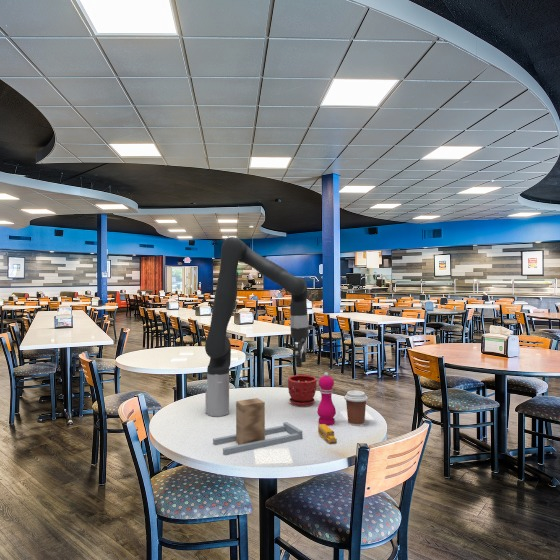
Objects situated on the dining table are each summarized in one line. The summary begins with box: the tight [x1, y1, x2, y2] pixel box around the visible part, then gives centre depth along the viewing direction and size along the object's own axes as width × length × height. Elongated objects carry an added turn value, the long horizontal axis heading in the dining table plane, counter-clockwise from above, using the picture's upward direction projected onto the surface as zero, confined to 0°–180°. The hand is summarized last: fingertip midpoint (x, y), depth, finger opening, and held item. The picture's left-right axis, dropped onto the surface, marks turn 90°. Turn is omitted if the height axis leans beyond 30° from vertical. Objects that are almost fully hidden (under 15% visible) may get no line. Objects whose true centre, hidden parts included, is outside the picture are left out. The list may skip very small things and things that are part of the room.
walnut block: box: [235, 397, 266, 445], centre depth 140 cm, size 8×6×14 cm
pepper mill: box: [317, 371, 337, 427], centre depth 160 cm, size 7×7×20 cm
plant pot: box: [287, 374, 317, 407], centre depth 188 cm, size 13×13×12 cm
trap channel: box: [212, 421, 303, 456], centre depth 141 cm, size 29×11×3 cm, turn 119°
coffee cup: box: [343, 389, 369, 427], centre depth 160 cm, size 9×9×12 cm
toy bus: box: [317, 424, 338, 445], centre depth 144 cm, size 3×10×4 cm, turn 16°
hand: (301, 364), depth 170 cm, fingers open, 8 cm apart
